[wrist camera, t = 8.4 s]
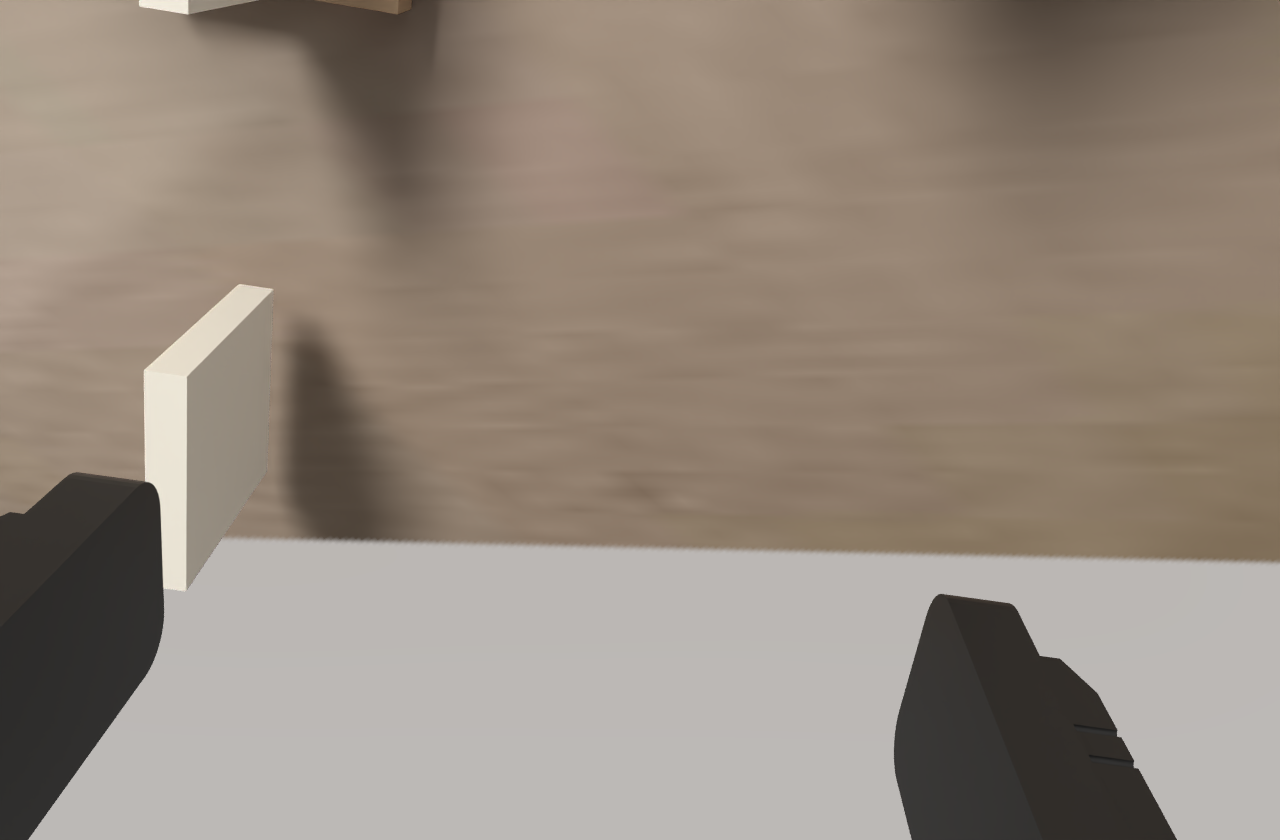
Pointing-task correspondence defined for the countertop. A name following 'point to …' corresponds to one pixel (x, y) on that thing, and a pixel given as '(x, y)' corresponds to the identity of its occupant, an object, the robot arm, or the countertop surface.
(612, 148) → the countertop surface
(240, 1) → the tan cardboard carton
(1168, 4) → the countertop surface
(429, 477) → the countertop surface
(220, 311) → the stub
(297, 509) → the countertop surface
